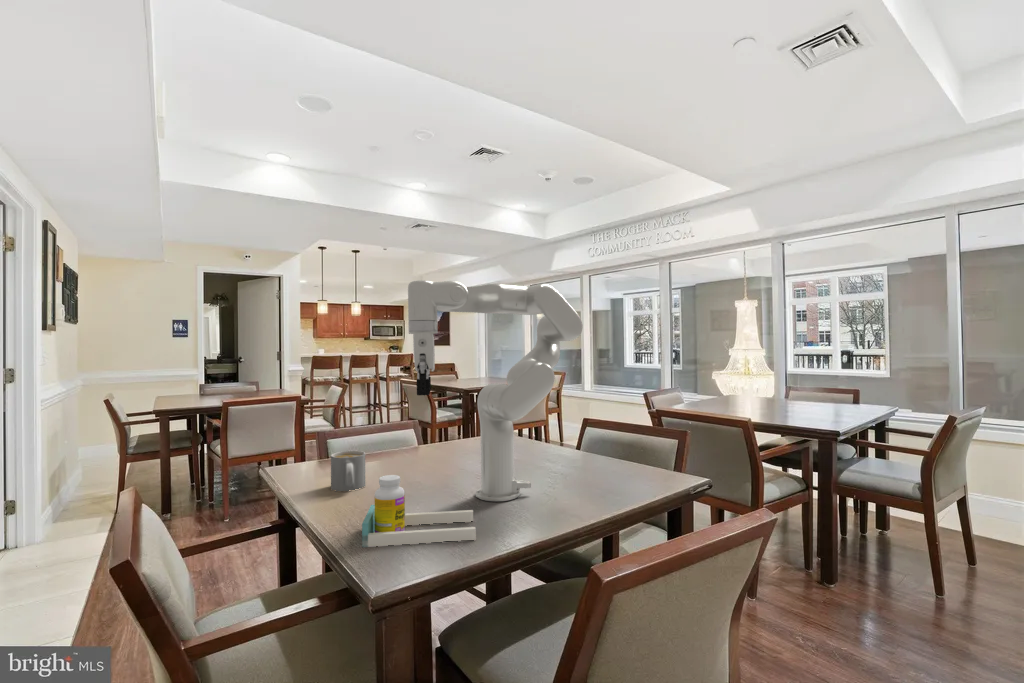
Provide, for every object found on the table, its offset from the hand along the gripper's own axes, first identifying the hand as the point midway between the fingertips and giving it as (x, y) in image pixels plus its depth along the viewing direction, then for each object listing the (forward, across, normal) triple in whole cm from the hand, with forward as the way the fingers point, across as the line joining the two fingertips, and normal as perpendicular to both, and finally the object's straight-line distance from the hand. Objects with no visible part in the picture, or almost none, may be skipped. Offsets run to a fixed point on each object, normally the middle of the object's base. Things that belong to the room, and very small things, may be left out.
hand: (424, 393), depth 127 cm
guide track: (+30, -17, +1) cm, 35 cm away
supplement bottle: (+30, -17, +7) cm, 35 cm away
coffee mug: (+30, +22, +24) cm, 45 cm away
